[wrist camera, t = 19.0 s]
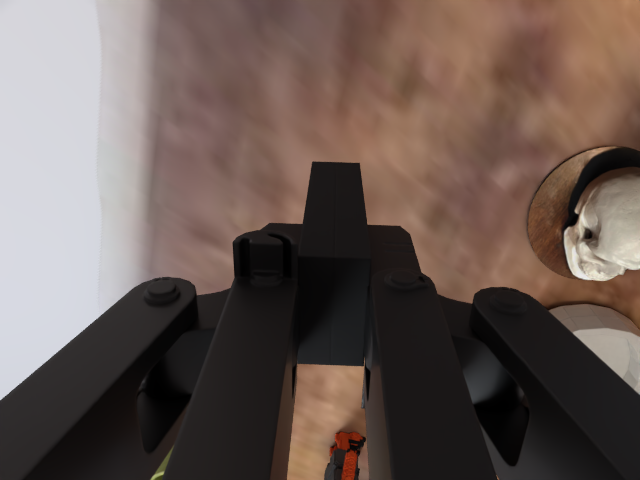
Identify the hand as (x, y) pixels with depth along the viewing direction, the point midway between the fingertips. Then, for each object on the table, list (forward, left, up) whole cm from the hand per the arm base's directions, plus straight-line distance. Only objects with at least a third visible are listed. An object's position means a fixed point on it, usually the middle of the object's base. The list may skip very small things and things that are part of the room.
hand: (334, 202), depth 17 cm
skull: (+7, +24, -27) cm, 37 cm away
